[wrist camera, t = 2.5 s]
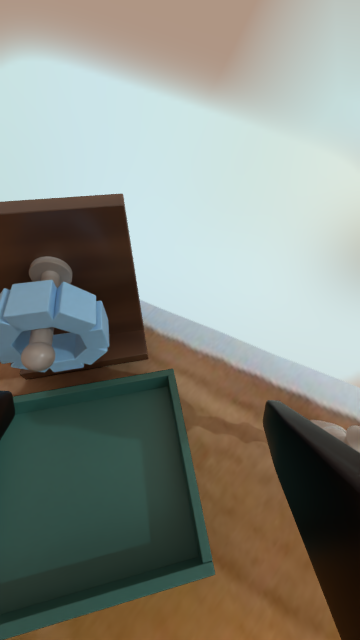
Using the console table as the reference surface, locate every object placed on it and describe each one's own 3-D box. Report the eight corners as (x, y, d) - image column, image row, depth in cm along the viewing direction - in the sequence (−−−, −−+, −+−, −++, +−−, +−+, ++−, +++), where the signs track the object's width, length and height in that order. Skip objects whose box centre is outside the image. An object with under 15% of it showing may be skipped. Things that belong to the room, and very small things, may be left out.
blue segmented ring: (115, 362, 19) (92, 305, 14) (19, 378, 18) (-48, 323, 13) (114, 336, 21) (92, 274, 15) (25, 349, 20) (-33, 288, 14)
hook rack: (154, 407, 23) (136, 299, 11) (15, 434, 21) (-195, 343, 9) (142, 318, 29) (121, 185, 17) (33, 333, 27) (-77, 198, 15)
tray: (208, 564, 16) (215, 574, 14) (-60, 644, 14) (-107, 674, 12) (173, 381, 24) (173, 368, 22) (-5, 414, 22) (-27, 403, 19)
